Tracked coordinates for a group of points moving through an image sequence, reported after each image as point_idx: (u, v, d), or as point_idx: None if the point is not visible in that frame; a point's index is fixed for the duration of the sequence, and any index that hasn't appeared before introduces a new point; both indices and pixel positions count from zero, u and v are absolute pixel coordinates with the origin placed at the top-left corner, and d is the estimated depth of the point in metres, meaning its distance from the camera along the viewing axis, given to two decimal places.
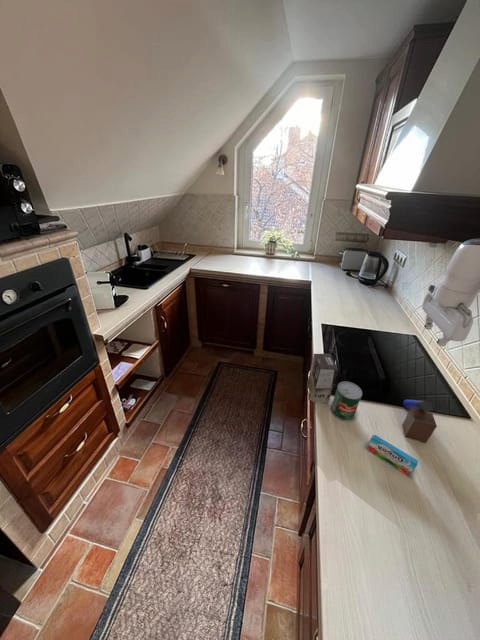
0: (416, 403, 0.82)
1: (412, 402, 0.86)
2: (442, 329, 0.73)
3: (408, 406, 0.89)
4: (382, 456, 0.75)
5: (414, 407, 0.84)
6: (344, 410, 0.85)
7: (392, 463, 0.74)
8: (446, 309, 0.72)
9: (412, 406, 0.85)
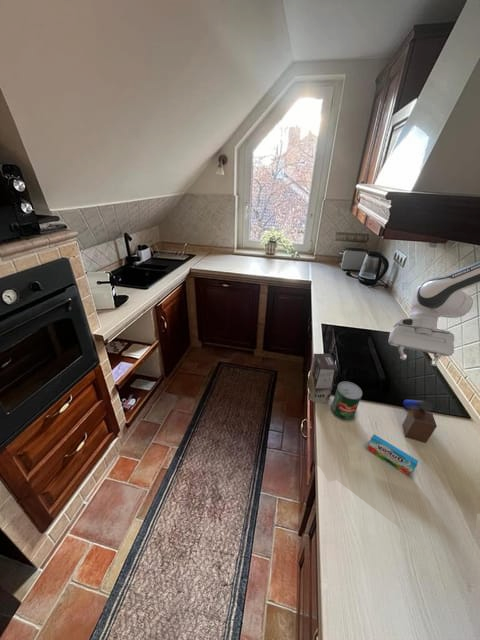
0: (416, 403, 0.82)
1: (412, 402, 0.86)
2: (438, 350, 0.90)
3: (408, 406, 0.89)
4: (382, 456, 0.75)
5: (414, 407, 0.84)
6: (344, 410, 0.85)
7: (392, 463, 0.74)
8: (432, 334, 0.91)
9: (412, 406, 0.85)
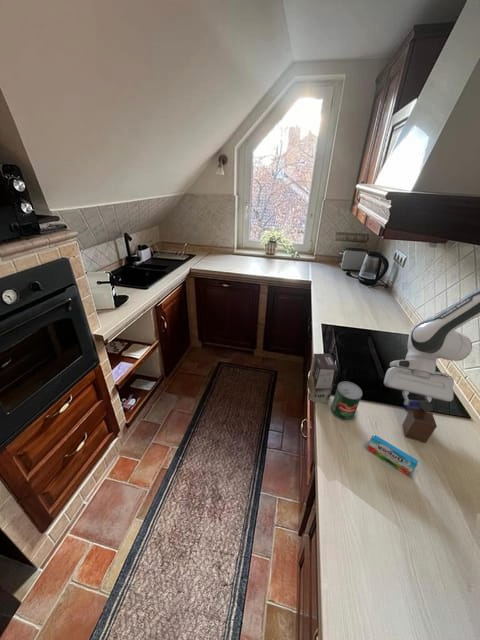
0: (416, 403, 0.82)
1: (412, 402, 0.86)
2: (436, 395, 0.84)
3: (408, 406, 0.89)
4: (382, 456, 0.75)
5: (414, 407, 0.84)
6: (344, 410, 0.85)
7: (392, 463, 0.74)
8: (430, 377, 0.86)
9: (412, 406, 0.85)
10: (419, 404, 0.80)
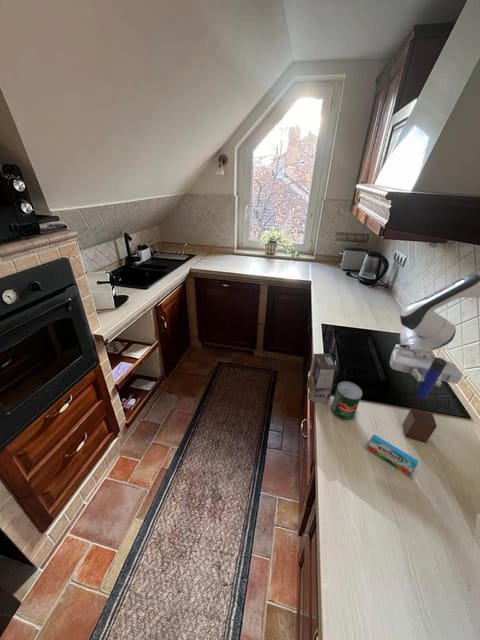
0: (429, 367, 0.79)
1: (425, 375, 0.81)
2: (445, 371, 0.82)
3: (422, 386, 0.81)
4: (382, 456, 0.75)
5: (429, 375, 0.79)
6: (344, 410, 0.85)
7: (392, 463, 0.74)
8: (432, 359, 0.87)
9: (426, 378, 0.80)
10: (432, 362, 0.77)
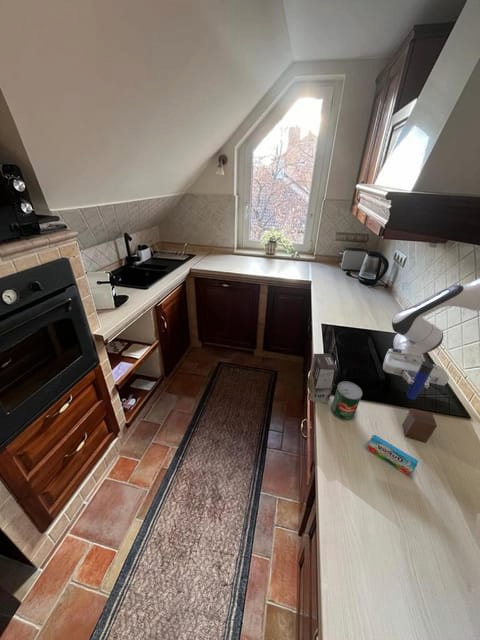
0: (418, 370, 0.86)
1: None
2: (433, 374, 0.89)
3: (412, 388, 0.88)
4: (382, 456, 0.75)
5: (418, 378, 0.86)
6: (344, 410, 0.85)
7: (392, 463, 0.74)
8: None
9: (416, 380, 0.87)
10: (421, 365, 0.84)
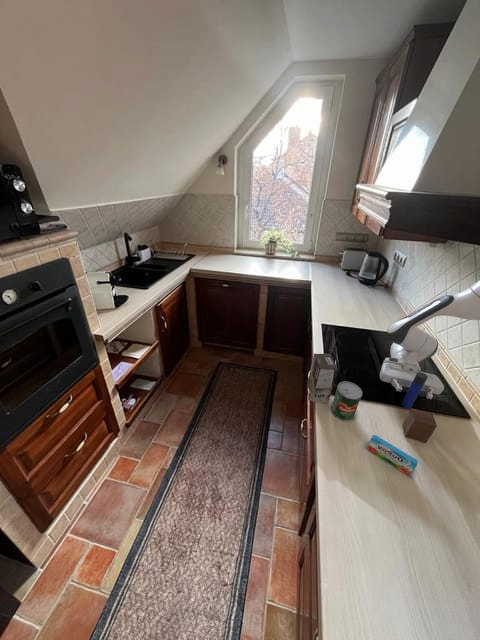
0: (413, 380, 0.88)
1: (409, 387, 0.90)
2: (429, 383, 0.91)
3: (407, 398, 0.91)
4: (382, 456, 0.75)
5: (412, 388, 0.88)
6: (344, 410, 0.85)
7: (392, 463, 0.74)
8: None
9: (410, 390, 0.89)
10: (415, 376, 0.87)
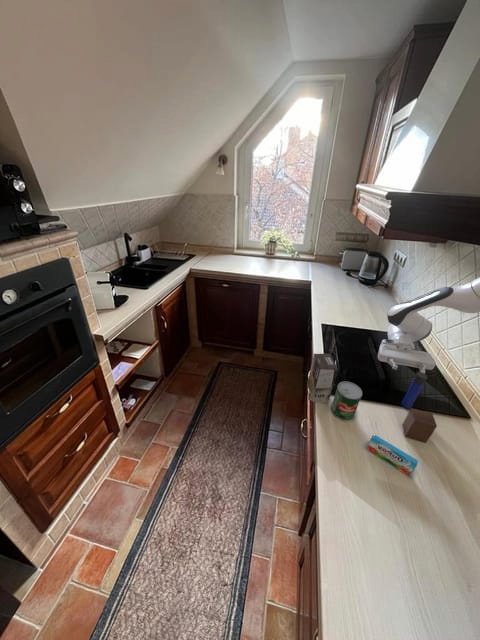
0: (413, 380, 0.88)
1: (409, 387, 0.90)
2: (422, 360, 1.01)
3: (407, 398, 0.91)
4: (382, 456, 0.75)
5: (412, 388, 0.88)
6: (344, 410, 0.85)
7: (392, 463, 0.74)
8: (412, 350, 1.06)
9: (410, 390, 0.89)
10: (415, 376, 0.87)
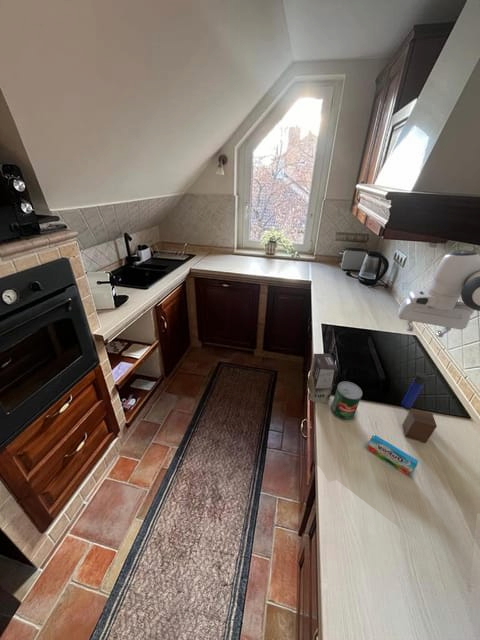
0: (413, 380, 0.88)
1: (409, 387, 0.90)
2: (449, 325, 0.86)
3: (407, 398, 0.91)
4: (382, 456, 0.75)
5: (412, 388, 0.88)
6: (344, 410, 0.85)
7: (392, 463, 0.74)
8: (447, 310, 0.84)
9: (410, 390, 0.89)
10: (415, 376, 0.87)
